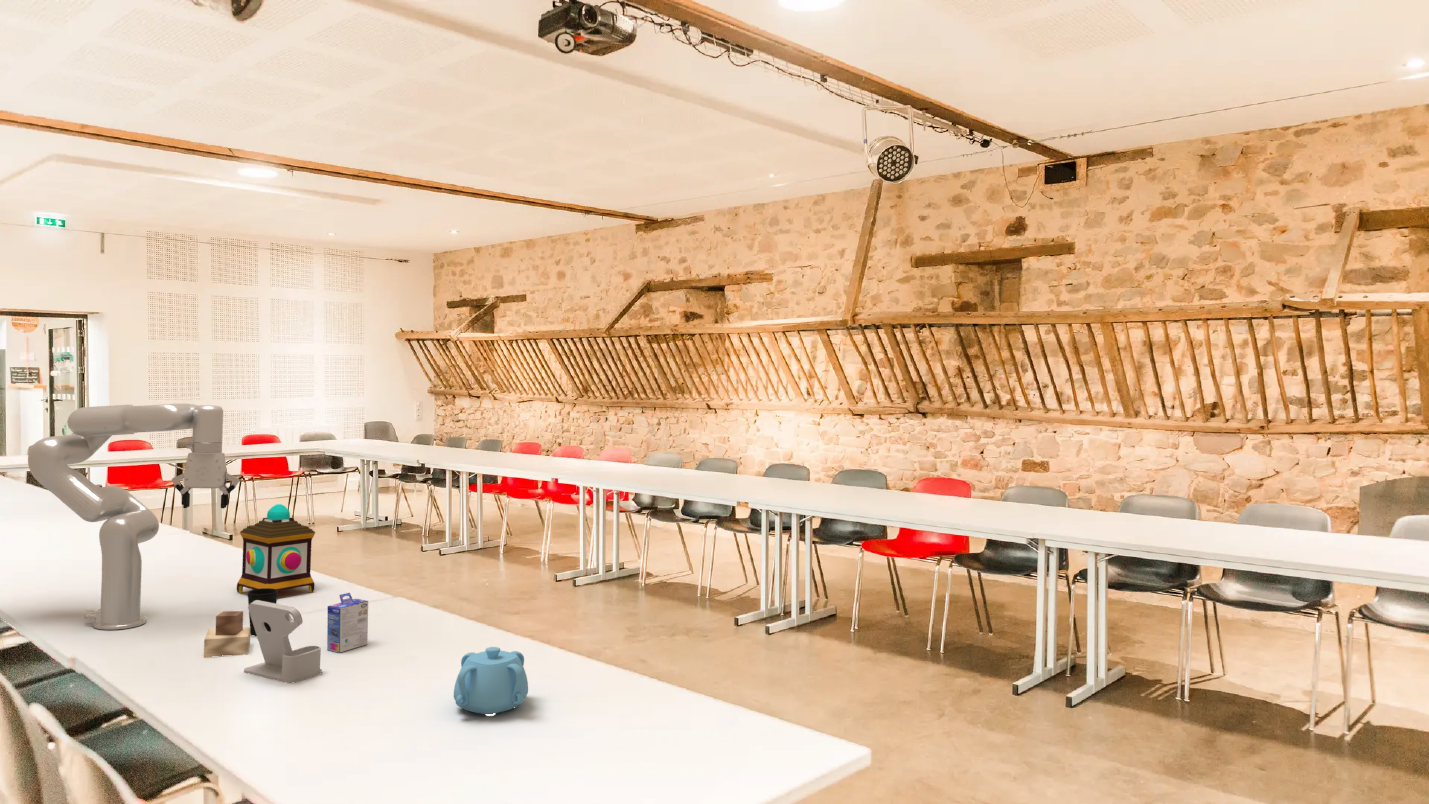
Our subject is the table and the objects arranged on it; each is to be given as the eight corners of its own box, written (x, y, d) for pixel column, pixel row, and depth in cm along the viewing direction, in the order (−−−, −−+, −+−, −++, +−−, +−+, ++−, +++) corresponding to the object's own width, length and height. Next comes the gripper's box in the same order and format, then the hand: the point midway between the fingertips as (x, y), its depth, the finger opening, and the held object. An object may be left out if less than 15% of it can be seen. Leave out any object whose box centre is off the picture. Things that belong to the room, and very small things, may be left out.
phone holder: (325, 672, 222) (328, 600, 221) (291, 684, 212) (293, 609, 212) (275, 661, 229) (278, 591, 228) (240, 672, 220) (243, 599, 219)
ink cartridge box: (353, 641, 249) (355, 589, 249) (368, 644, 246) (370, 592, 246) (324, 650, 240) (326, 596, 240) (340, 653, 237) (341, 599, 237)
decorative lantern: (320, 592, 302) (323, 504, 302) (264, 603, 286) (267, 509, 285) (286, 583, 313) (289, 498, 313) (230, 593, 296) (233, 503, 296)
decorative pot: (522, 721, 196) (525, 659, 195) (447, 720, 194) (450, 658, 194) (530, 695, 212) (532, 638, 212) (460, 695, 210) (463, 637, 210)
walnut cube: (215, 635, 233) (215, 616, 233) (222, 629, 238) (223, 611, 238) (236, 634, 234) (236, 615, 234) (242, 629, 239) (243, 611, 239)
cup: (263, 638, 248) (265, 595, 248) (239, 635, 249) (241, 593, 249) (282, 631, 255) (284, 589, 255) (259, 628, 257) (260, 587, 257)
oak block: (203, 658, 229) (204, 639, 229) (207, 647, 238) (208, 629, 238) (247, 655, 233) (248, 636, 233) (249, 645, 243) (250, 626, 243)
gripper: (168, 448, 250) (166, 509, 251) (236, 450, 255) (234, 509, 255) (177, 446, 258) (175, 505, 258) (243, 448, 262) (241, 506, 262)
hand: (205, 507), depth 256 cm, fingers open, 9 cm apart
